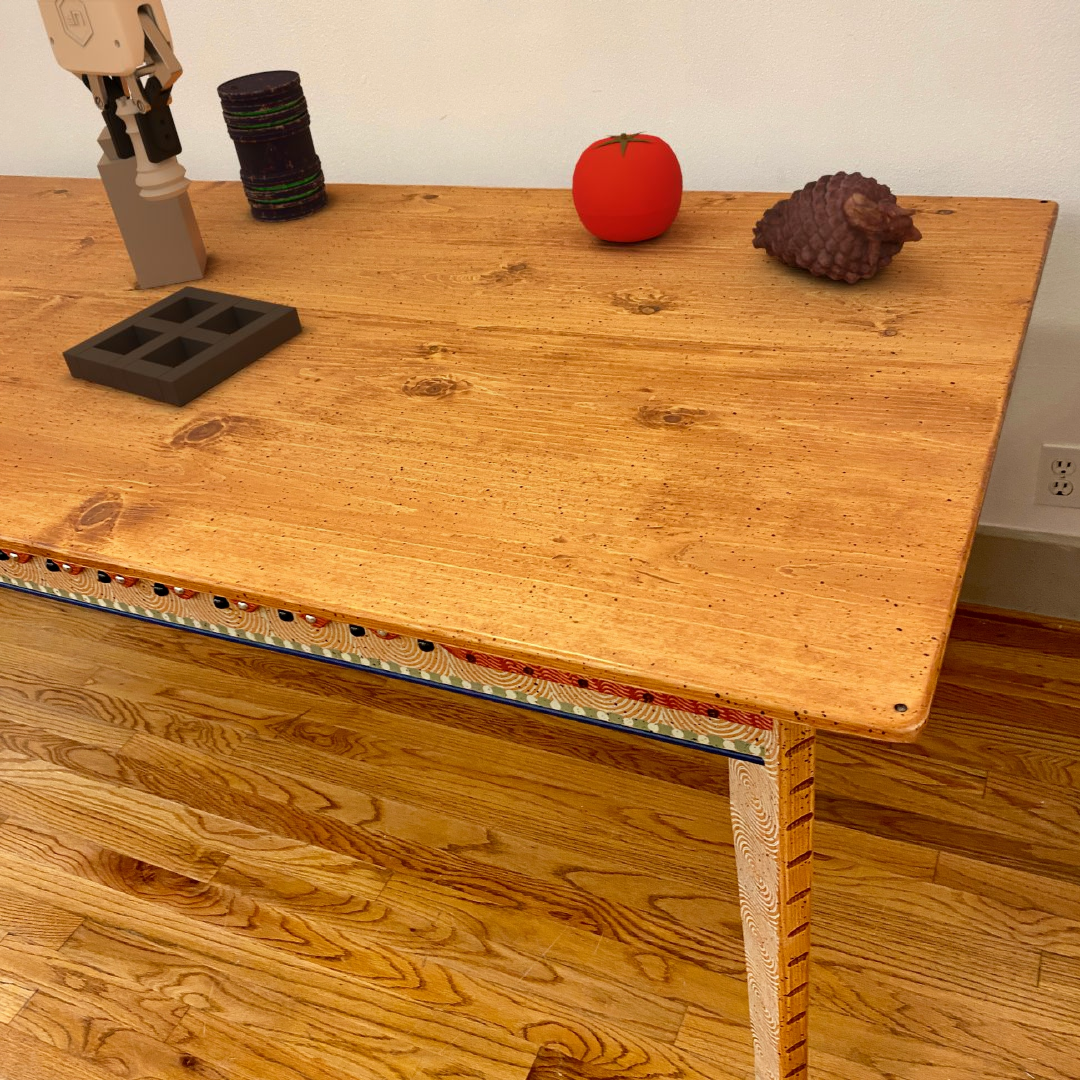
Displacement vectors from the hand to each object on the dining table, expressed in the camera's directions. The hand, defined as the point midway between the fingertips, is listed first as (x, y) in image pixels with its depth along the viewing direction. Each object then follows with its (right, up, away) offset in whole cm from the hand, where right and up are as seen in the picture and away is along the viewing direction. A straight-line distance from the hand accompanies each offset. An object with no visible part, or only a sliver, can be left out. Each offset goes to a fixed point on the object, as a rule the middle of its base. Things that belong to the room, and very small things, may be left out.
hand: (150, 153), depth 92 cm
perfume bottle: (-8, -3, +30) cm, 31 cm away
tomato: (+42, -1, +23) cm, 48 cm away
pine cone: (+60, -8, +10) cm, 62 cm away
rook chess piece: (+1, -3, +2) cm, 4 cm away
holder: (-1, -15, +12) cm, 19 cm away
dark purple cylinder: (+2, +9, +44) cm, 45 cm away
